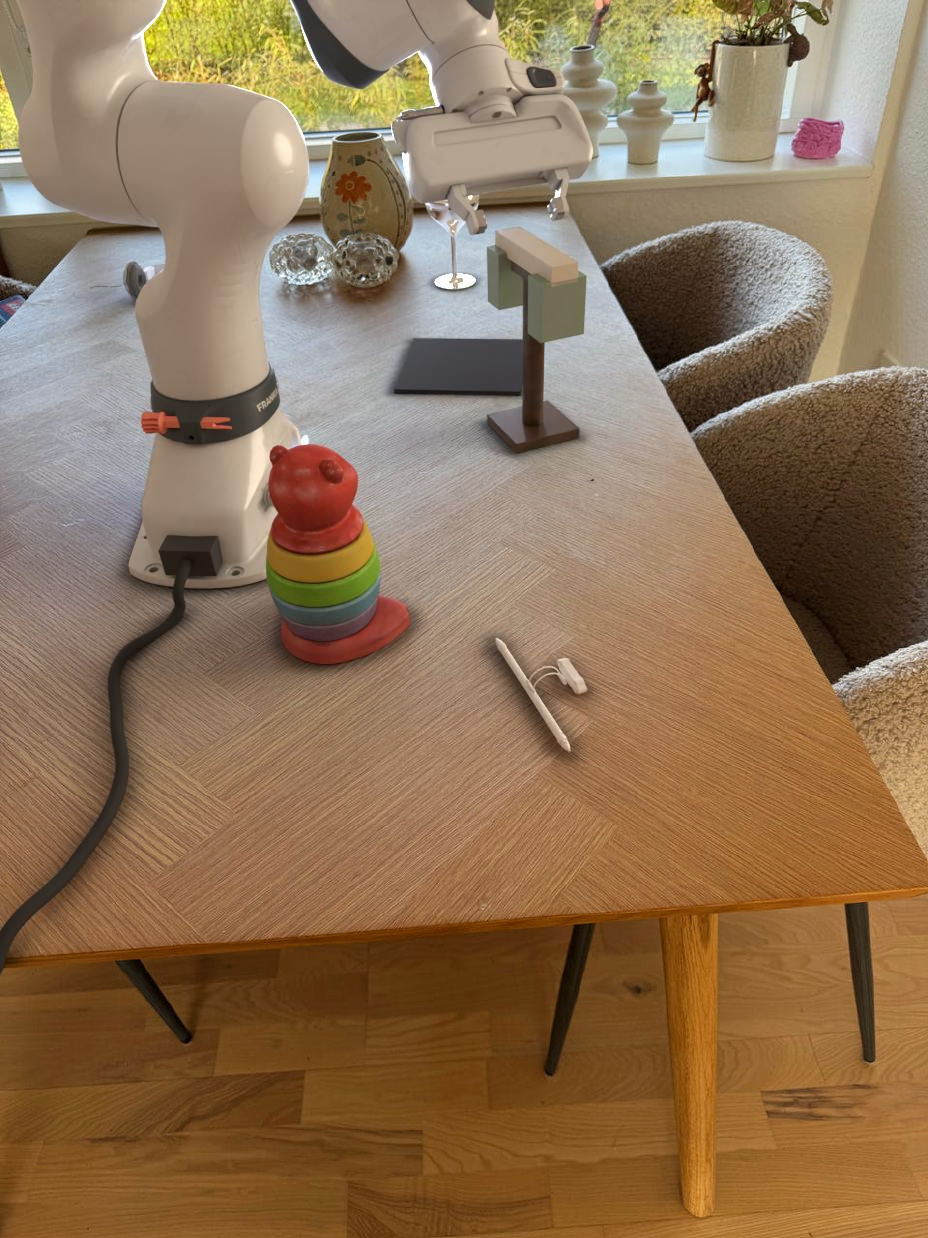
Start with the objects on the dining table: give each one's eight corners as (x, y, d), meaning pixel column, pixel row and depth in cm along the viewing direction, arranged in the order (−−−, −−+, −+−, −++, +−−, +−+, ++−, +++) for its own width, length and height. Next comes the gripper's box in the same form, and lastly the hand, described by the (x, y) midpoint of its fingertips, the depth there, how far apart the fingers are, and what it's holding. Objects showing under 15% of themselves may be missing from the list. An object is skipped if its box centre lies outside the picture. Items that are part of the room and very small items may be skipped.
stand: (516, 453, 104) (516, 283, 91) (487, 423, 109) (483, 260, 97) (579, 437, 106) (587, 270, 94) (547, 408, 112) (550, 247, 99)
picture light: (492, 643, 79) (491, 624, 77) (538, 629, 80) (539, 610, 79) (565, 756, 69) (566, 736, 67) (616, 739, 70) (619, 719, 68)
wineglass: (421, 279, 147) (413, 156, 136) (467, 269, 150) (463, 148, 138) (442, 295, 142) (435, 168, 130) (489, 285, 144) (487, 160, 133)
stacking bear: (420, 618, 82) (404, 438, 70) (347, 685, 75) (316, 499, 64) (327, 579, 87) (299, 405, 75) (251, 639, 80) (207, 459, 69)
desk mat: (520, 395, 115) (520, 391, 114) (393, 392, 116) (393, 389, 116) (528, 342, 127) (528, 339, 126) (413, 341, 129) (413, 337, 128)
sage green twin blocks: (540, 343, 94) (542, 268, 89) (487, 301, 103) (486, 231, 98) (584, 333, 95) (587, 259, 90) (527, 293, 104) (528, 224, 100)
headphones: (202, 309, 137) (243, 283, 155) (195, 269, 135) (238, 247, 152) (90, 309, 139) (143, 283, 156) (82, 269, 136) (137, 247, 153)
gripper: (391, 92, 90) (434, 222, 90) (575, 69, 96) (617, 192, 96) (380, 133, 96) (421, 256, 96) (554, 109, 102) (593, 225, 102)
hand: (520, 224), depth 96 cm, fingers open, 8 cm apart
